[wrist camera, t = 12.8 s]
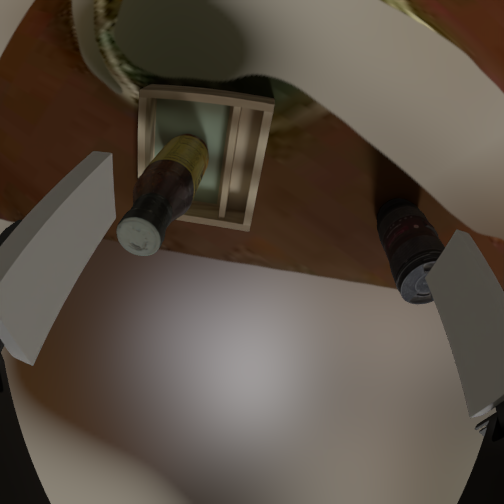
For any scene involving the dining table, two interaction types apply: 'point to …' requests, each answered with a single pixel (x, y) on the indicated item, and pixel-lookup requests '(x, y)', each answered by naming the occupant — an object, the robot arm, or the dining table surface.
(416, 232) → the camera lens
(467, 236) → the robot arm
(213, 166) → the box
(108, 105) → the dining table surface
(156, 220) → the sauce bottle
